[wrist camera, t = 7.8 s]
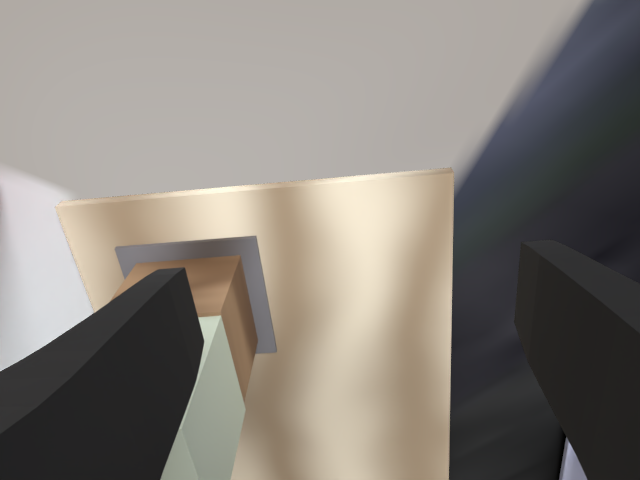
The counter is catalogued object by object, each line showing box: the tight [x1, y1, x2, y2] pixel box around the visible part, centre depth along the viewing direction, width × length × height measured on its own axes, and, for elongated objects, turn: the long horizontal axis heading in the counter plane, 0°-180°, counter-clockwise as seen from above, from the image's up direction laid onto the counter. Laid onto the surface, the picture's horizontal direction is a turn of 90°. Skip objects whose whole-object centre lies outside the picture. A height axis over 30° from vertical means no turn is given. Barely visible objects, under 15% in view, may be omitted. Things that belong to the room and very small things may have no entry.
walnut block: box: [110, 255, 258, 402], centre depth 21 cm, size 4×4×4 cm
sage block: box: [160, 315, 246, 480], centre depth 17 cm, size 4×4×5 cm
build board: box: [55, 168, 454, 480], centre depth 25 cm, size 16×20×1 cm
